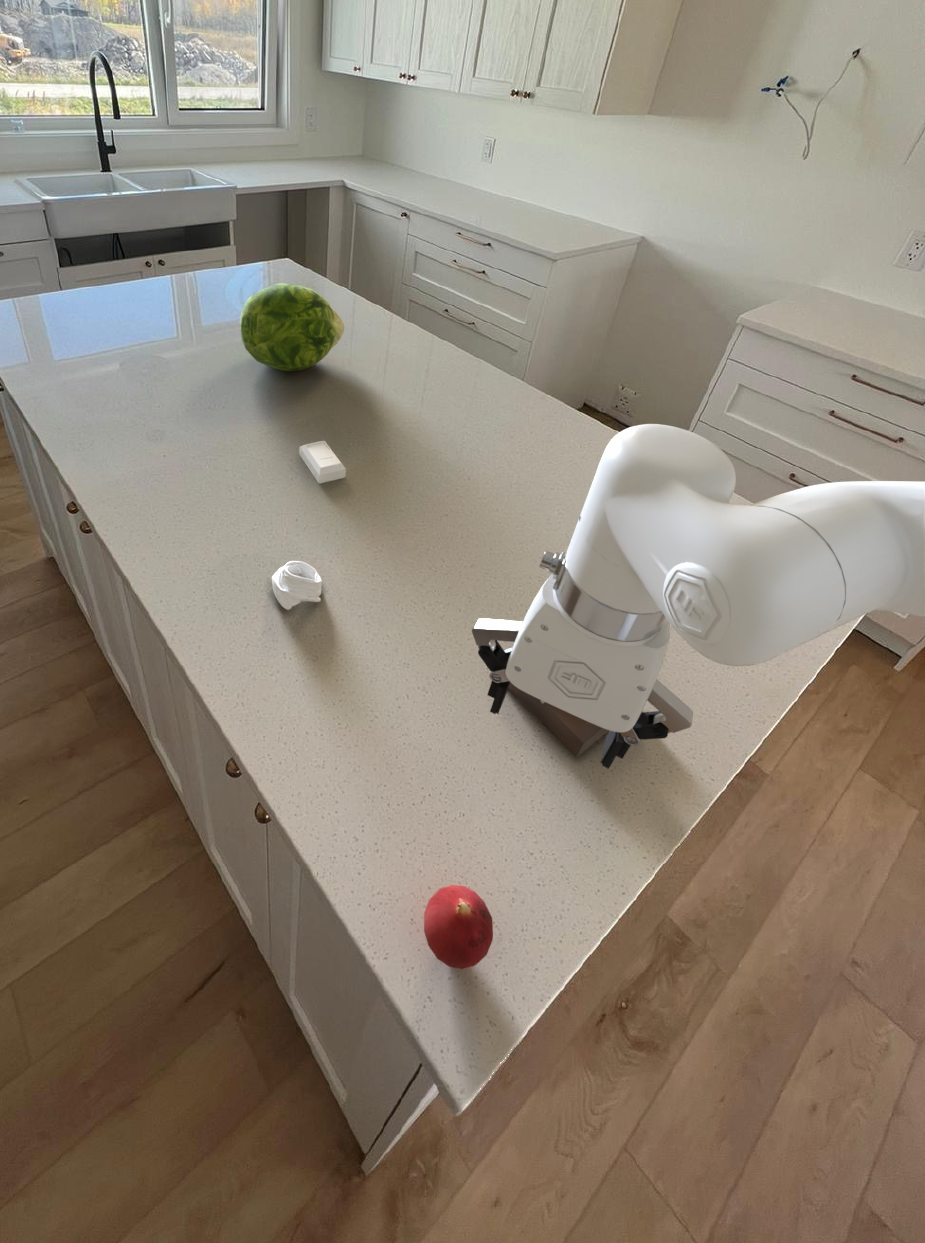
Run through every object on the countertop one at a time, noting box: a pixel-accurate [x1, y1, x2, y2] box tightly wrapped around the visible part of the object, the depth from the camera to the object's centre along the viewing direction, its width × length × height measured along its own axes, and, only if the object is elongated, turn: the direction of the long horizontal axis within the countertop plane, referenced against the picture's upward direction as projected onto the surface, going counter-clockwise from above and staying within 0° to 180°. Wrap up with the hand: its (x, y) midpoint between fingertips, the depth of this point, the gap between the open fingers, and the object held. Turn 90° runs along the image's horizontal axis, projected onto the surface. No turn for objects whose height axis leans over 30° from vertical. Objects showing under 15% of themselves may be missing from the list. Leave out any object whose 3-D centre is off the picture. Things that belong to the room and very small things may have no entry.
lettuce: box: [239, 282, 345, 372], centre depth 137 cm, size 19×23×18 cm
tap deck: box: [508, 682, 610, 758], centre depth 76 cm, size 12×11×3 cm
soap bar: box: [299, 440, 347, 484], centre depth 111 cm, size 5×9×3 cm, turn 26°
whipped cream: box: [271, 560, 323, 611], centre depth 86 cm, size 8×7×5 cm
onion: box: [423, 884, 494, 970], centre depth 54 cm, size 6×6×8 cm
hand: (551, 726), depth 55 cm, fingers open, 9 cm apart
